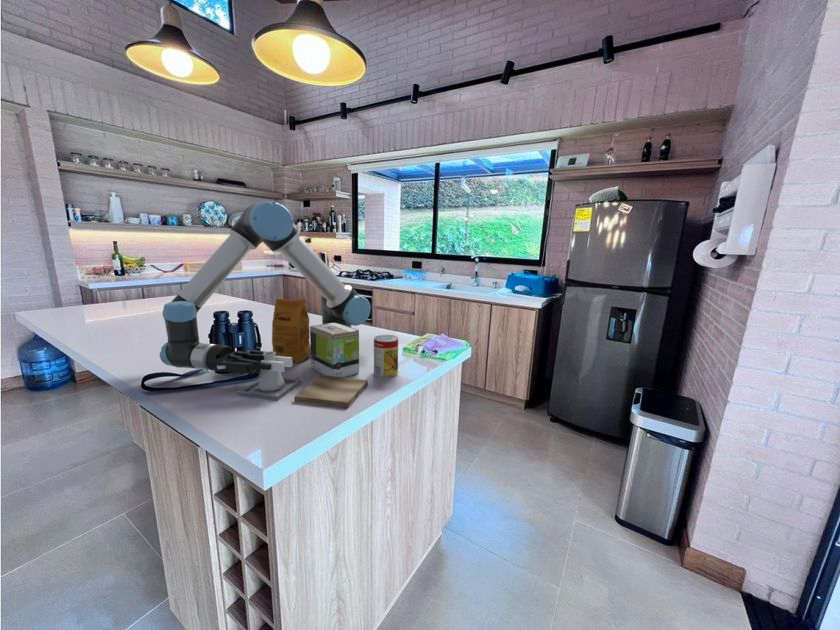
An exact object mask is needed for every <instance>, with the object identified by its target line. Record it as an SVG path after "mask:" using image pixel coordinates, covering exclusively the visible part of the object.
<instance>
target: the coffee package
mask: <svg viewBox="0 0 840 630" xmlns="http://www.w3.org/2000/svg"><path fill="white" fill-rule="evenodd" d="M308 313H309V312H308V309H307V307H306V300H305V299H290V300H289V299H284V298H279V297H276V300H275V304H274V311H273V316H272V322H271V323H272V325H271V327H272V328H271V336H272V337H271V345H272V351H273V352H276V354H275V356H282V357H292V363H301V362H303V361H304V360H305V359H306V358H308V357H309V356H311V343H310V316H309V314H308Z"/></svg>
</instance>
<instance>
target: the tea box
mask: <svg viewBox="0 0 840 630" xmlns="http://www.w3.org/2000/svg"><path fill="white" fill-rule="evenodd" d="M351 327H352V326H351ZM351 327H348V326H345V325H341V324H338V323H328V324H322V323H321V324H316V325H309V331H310V332H309V336H310V338H309V344H310V364H311V368H312V369H314V370H315V371H318V372H319V373H321V374H322V375H324V376H334V377H343V378H348V377H350V376H353V375H358V374H359V373H360V330H359V329H358V328H357V329H356V328H354V327H352V328H351Z"/></svg>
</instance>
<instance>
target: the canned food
mask: <svg viewBox="0 0 840 630" xmlns="http://www.w3.org/2000/svg"><path fill="white" fill-rule="evenodd" d="M397 373H398V374H399V337H398V336H396V335H394V334H393V335H392V334H381V335H380V334H378V335H376V336H374V337H373V375H374V376H376V377H378V378H383V377H388V378H392V377H391V376H393V377H395V375H396V374H397ZM398 374H397V375H398ZM397 375H396V376H397Z"/></svg>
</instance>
